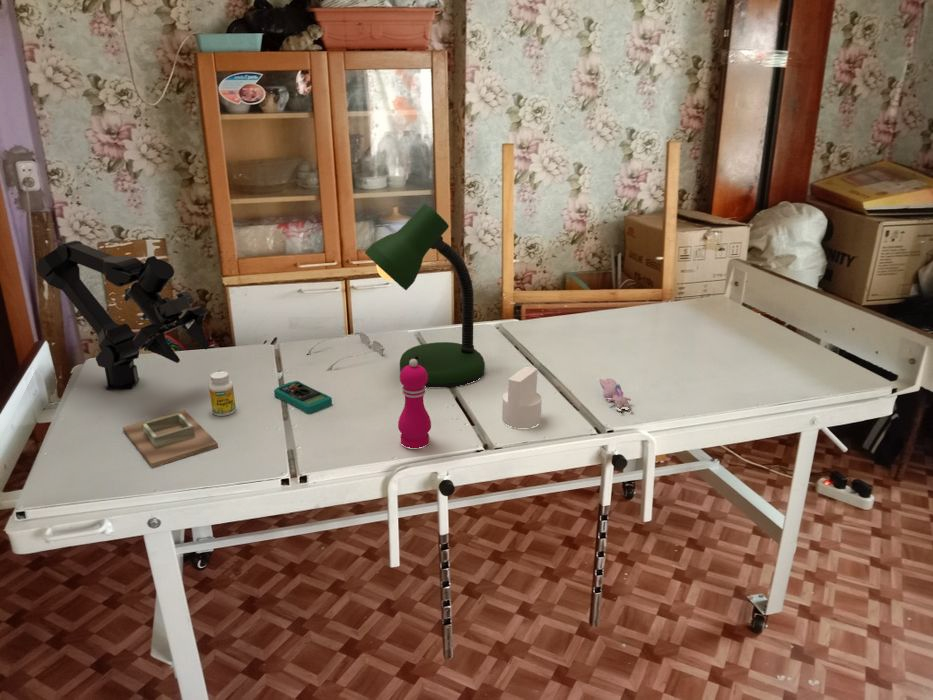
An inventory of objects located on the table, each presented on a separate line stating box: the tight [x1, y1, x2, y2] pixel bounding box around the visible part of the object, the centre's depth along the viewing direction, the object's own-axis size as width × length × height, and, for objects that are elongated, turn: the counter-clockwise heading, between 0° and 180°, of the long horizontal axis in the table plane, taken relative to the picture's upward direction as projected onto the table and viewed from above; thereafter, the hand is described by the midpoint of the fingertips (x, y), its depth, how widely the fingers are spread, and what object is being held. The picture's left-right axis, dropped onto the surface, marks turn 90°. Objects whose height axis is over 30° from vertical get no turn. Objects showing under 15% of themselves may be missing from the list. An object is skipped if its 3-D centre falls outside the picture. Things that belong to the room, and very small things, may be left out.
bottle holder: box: [122, 410, 219, 468], centre depth 166 cm, size 20×14×4 cm
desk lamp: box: [364, 203, 486, 389], centre depth 193 cm, size 31×23×45 cm
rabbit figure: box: [598, 378, 632, 412], centre depth 186 cm, size 6×6×15 cm
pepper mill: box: [397, 359, 432, 448], centre depth 163 cm, size 7×7×20 cm
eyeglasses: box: [305, 331, 385, 372], centre depth 212 cm, size 15×18×4 cm
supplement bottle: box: [208, 371, 237, 417], centre depth 178 cm, size 5×5×10 cm
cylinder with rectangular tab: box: [501, 366, 543, 428], centre depth 174 cm, size 9×9×12 cm
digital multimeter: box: [273, 380, 333, 415], centre depth 185 cm, size 7×15×3 cm, turn 47°
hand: (193, 355), depth 177 cm, fingers open, 9 cm apart
